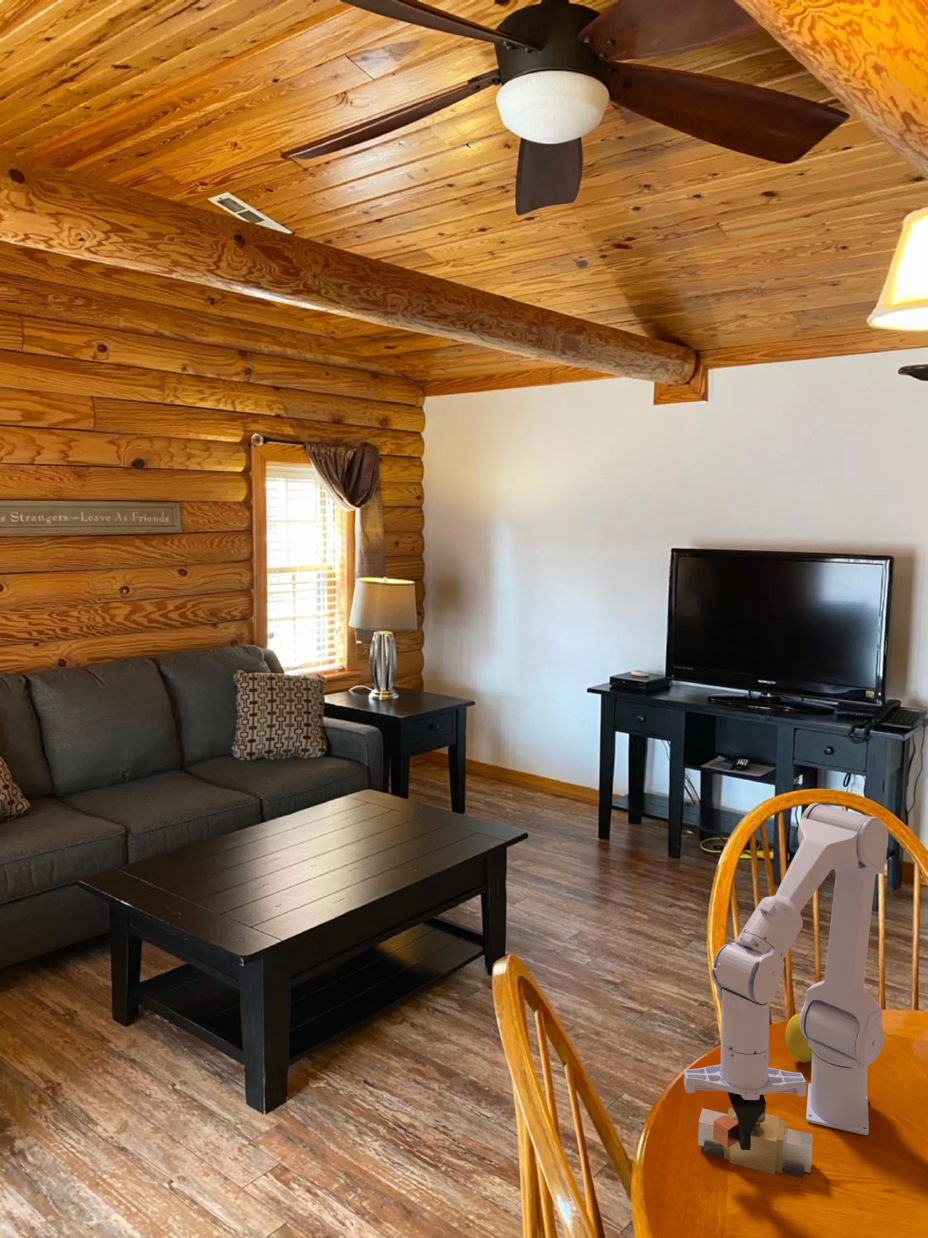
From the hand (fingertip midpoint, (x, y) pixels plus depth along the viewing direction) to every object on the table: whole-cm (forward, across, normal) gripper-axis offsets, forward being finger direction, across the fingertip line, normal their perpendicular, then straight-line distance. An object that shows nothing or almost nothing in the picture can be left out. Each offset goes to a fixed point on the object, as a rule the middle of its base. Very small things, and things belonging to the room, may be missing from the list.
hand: (743, 1145), depth 116 cm
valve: (+5, +3, +5) cm, 7 cm away
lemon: (+6, +15, +28) cm, 33 cm away
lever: (0, 0, +3) cm, 3 cm away
